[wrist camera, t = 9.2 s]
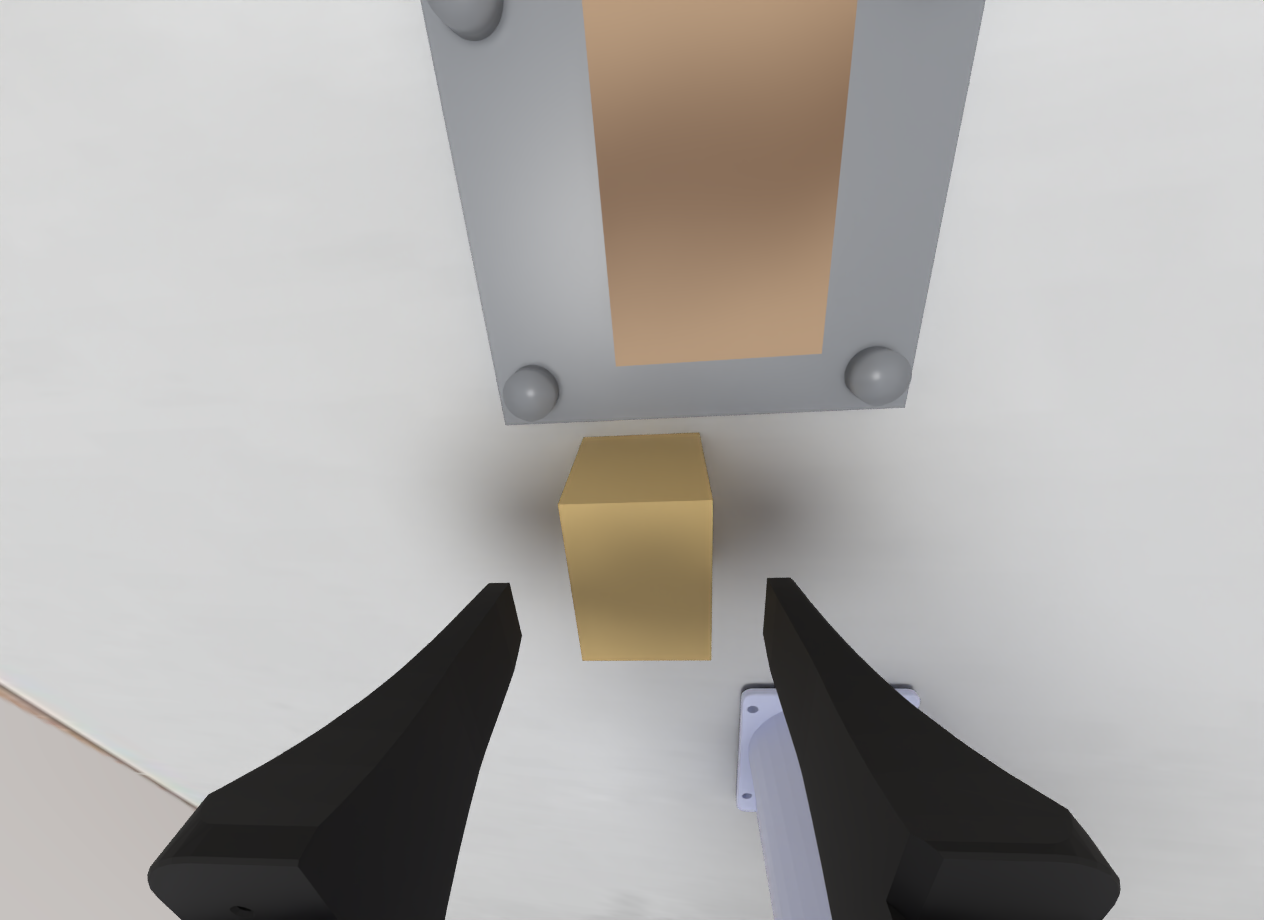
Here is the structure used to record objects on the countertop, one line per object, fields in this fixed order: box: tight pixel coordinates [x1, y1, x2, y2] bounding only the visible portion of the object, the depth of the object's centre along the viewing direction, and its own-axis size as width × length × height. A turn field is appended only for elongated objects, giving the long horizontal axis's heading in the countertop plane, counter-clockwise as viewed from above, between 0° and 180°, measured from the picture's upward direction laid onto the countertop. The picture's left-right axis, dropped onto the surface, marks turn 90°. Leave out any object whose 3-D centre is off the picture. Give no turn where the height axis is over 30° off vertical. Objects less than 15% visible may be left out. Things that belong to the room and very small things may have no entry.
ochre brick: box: [558, 433, 713, 661], centre depth 16 cm, size 6×4×5 cm
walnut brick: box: [582, 0, 858, 367], centre depth 10 cm, size 6×4×5 cm
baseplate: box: [421, 0, 985, 425], centre depth 13 cm, size 12×13×2 cm
